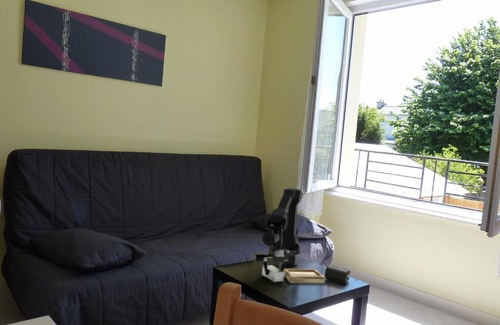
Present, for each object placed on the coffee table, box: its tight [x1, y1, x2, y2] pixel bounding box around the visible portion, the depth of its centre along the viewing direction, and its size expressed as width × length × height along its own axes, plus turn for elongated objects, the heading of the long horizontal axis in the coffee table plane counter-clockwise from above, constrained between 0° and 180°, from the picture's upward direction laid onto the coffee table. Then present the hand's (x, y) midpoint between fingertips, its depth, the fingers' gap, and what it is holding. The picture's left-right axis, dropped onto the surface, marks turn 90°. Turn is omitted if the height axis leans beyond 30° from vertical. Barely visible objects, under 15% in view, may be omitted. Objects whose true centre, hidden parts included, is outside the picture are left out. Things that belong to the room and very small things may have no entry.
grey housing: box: [261, 264, 285, 283], centre depth 177 cm, size 10×5×4 cm, turn 30°
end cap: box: [324, 265, 351, 286], centre depth 180 cm, size 10×7×7 cm
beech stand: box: [282, 268, 326, 284], centre depth 180 cm, size 11×16×3 cm
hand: (272, 275), depth 177 cm, fingers closed on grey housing, 6 cm apart
